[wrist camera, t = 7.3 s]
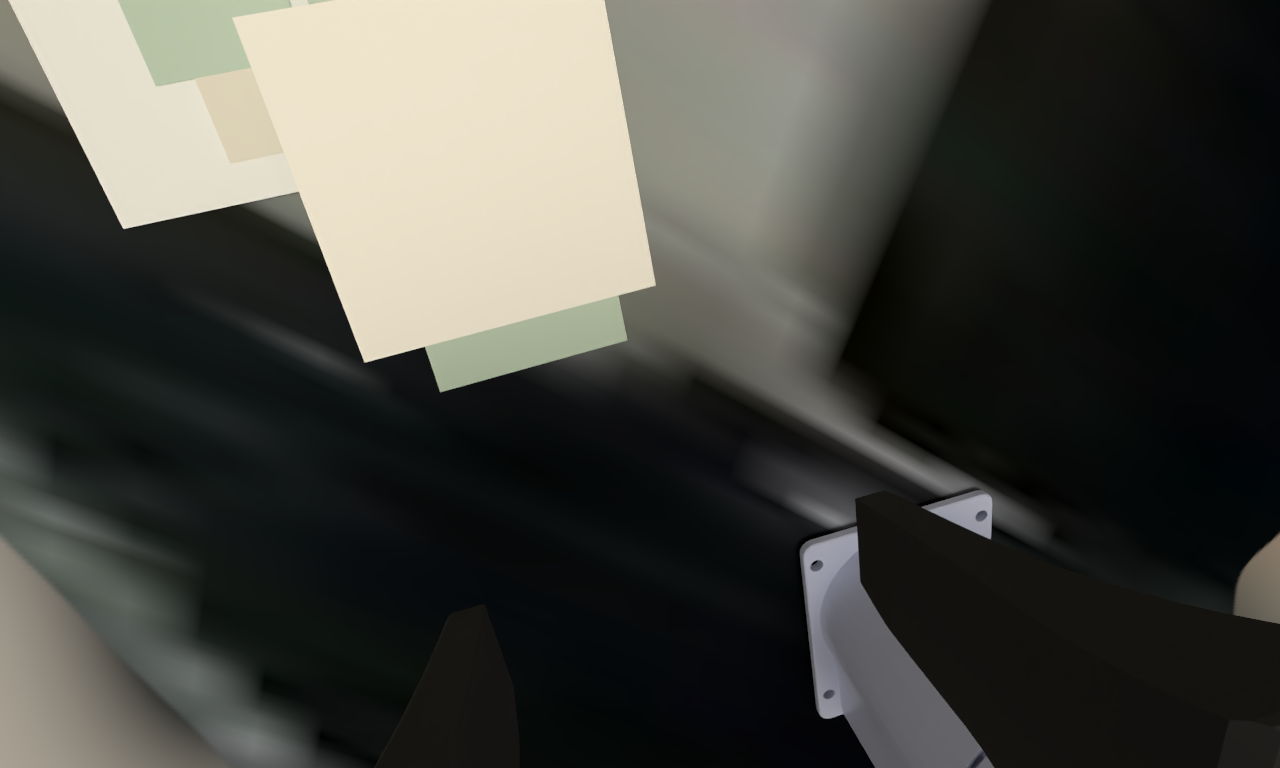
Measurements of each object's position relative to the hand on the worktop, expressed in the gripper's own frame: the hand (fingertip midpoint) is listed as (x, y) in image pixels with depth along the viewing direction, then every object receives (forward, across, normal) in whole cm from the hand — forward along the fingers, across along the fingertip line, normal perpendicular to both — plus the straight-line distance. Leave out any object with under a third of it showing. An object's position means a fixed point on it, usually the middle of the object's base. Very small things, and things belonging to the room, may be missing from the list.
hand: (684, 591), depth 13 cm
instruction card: (+10, +7, -11) cm, 16 cm away
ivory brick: (+5, +2, -8) cm, 10 cm away
